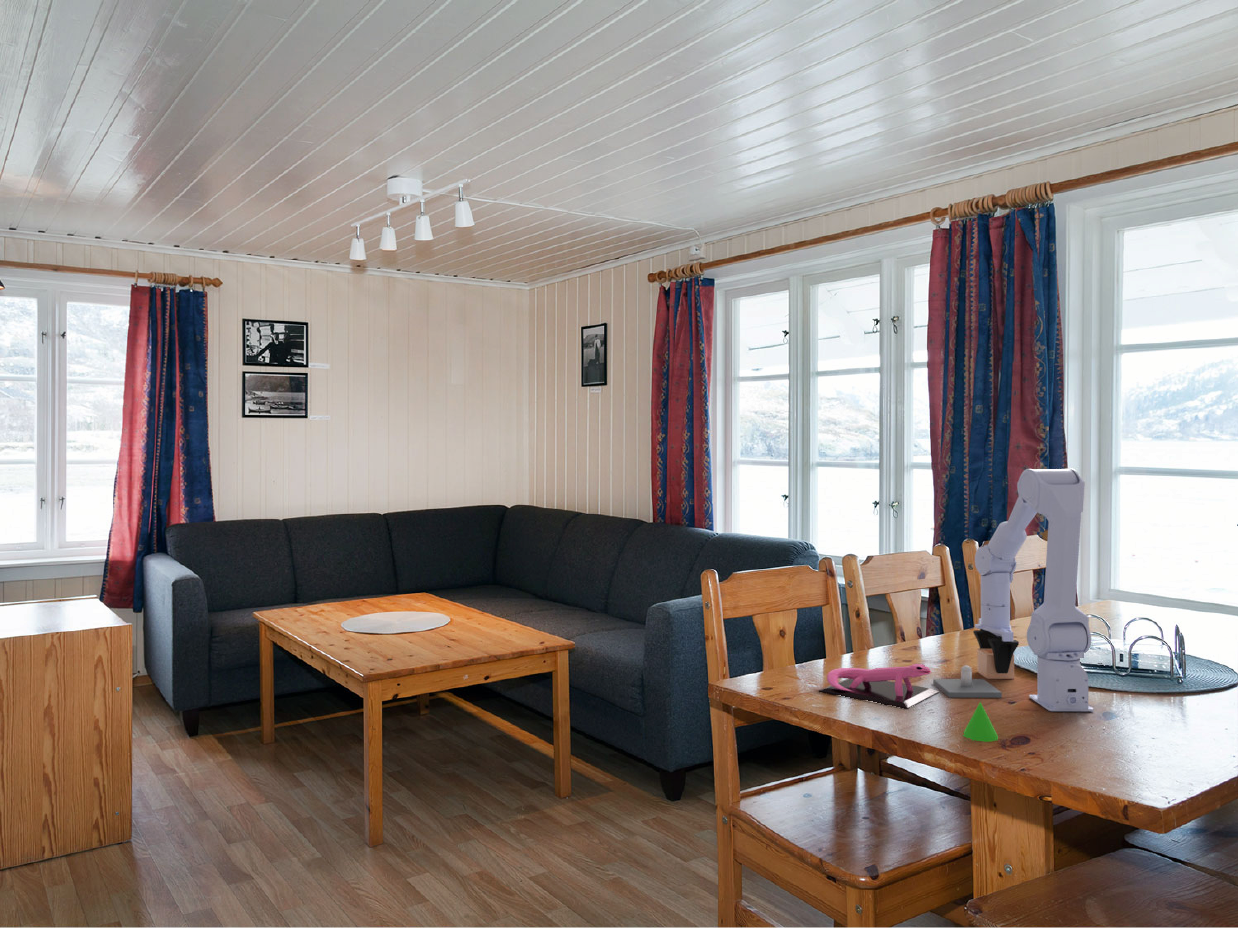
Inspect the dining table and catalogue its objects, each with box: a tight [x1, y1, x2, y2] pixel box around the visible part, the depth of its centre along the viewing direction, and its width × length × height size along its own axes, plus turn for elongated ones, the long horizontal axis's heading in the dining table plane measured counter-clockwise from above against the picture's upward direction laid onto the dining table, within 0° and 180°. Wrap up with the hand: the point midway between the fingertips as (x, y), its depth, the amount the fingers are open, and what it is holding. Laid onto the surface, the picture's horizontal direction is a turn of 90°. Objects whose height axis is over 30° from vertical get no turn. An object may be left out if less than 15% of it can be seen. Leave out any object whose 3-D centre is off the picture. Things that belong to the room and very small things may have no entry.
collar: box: [976, 648, 1015, 680], centre depth 190 cm, size 6×6×5 cm
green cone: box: [962, 701, 999, 743], centre depth 151 cm, size 6×6×6 cm
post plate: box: [932, 664, 1003, 699], centre depth 178 cm, size 10×10×5 cm
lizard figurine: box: [818, 663, 940, 710], centre depth 177 cm, size 15×20×7 cm
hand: (995, 668), depth 190 cm, fingers open, 7 cm apart
